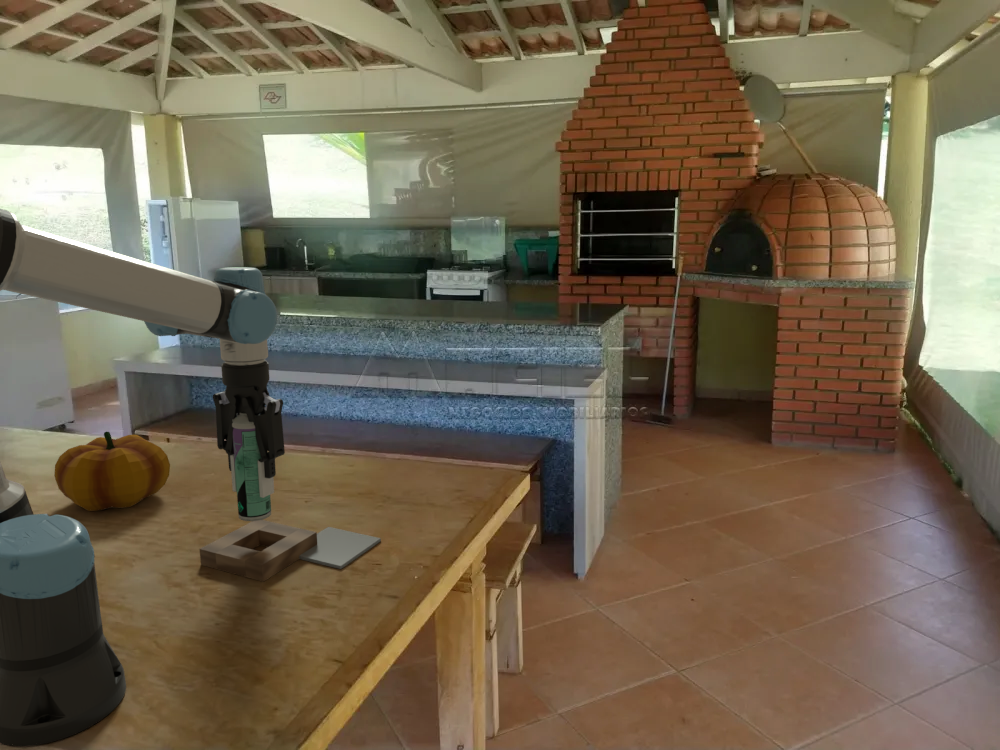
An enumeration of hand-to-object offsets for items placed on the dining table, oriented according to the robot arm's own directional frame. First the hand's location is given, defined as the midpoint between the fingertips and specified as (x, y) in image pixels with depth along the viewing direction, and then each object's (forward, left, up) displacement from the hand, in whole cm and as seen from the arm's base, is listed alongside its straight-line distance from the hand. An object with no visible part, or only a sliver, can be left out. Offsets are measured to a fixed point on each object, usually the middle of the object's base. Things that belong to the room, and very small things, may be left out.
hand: (253, 491), depth 130 cm
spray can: (0, 0, -5) cm, 5 cm away
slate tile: (+8, -10, -12) cm, 18 cm away
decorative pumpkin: (+7, +46, -13) cm, 48 cm away
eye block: (0, 0, -12) cm, 12 cm away
